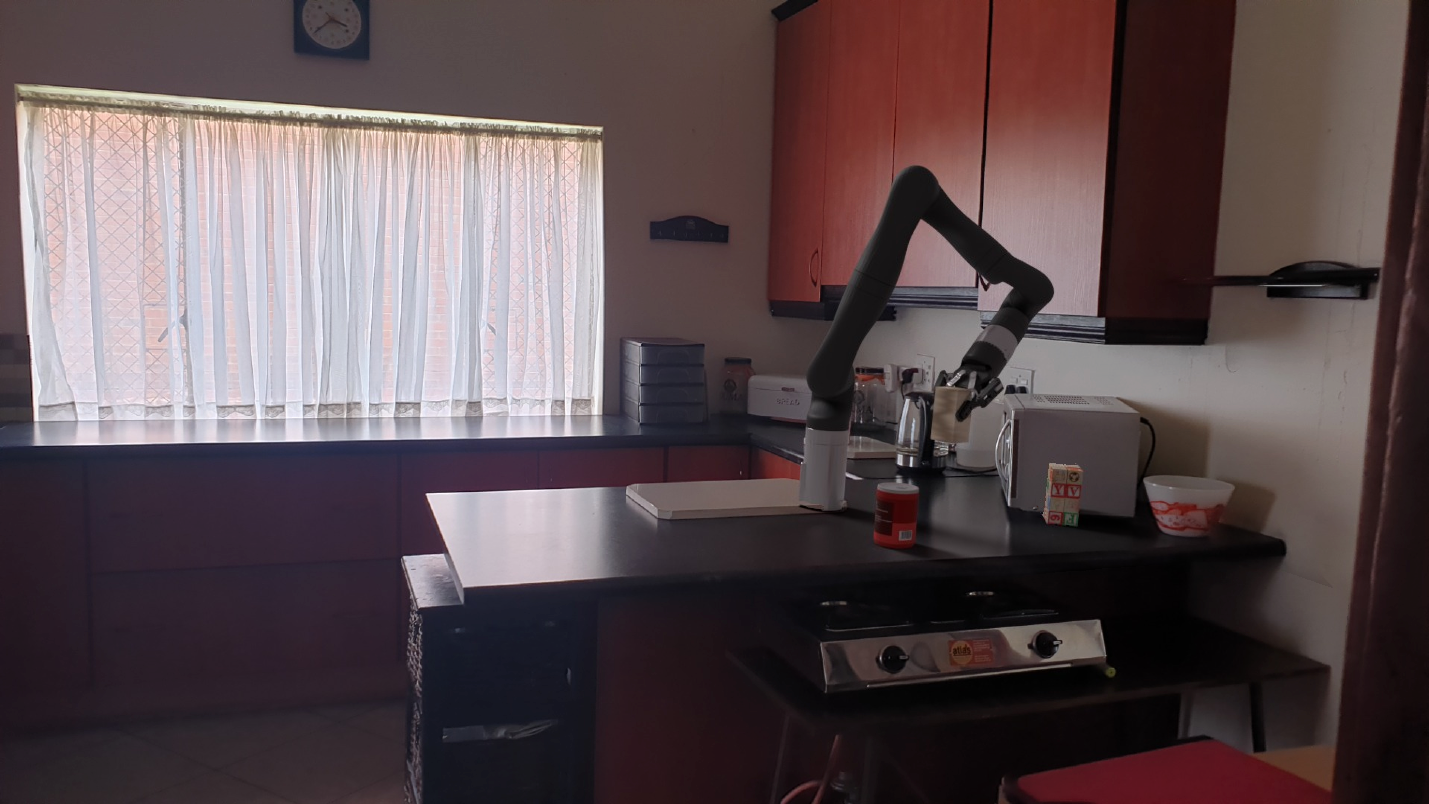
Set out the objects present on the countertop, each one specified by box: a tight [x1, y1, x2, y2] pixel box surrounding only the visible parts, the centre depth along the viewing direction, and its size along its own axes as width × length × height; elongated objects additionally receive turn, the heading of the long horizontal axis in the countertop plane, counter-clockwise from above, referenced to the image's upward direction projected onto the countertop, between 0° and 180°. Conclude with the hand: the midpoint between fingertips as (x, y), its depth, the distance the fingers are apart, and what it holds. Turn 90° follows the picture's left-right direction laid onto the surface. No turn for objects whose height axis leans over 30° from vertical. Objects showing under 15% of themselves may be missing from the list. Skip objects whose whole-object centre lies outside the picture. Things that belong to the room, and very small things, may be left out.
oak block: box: [930, 386, 973, 445], centre depth 188 cm, size 5×5×10 cm
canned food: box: [873, 482, 920, 550], centre depth 186 cm, size 8×8×11 cm
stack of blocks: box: [1041, 463, 1084, 527], centre depth 221 cm, size 21×6×12 cm, turn 169°
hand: (946, 416), depth 187 cm, fingers closed on oak block, 5 cm apart
